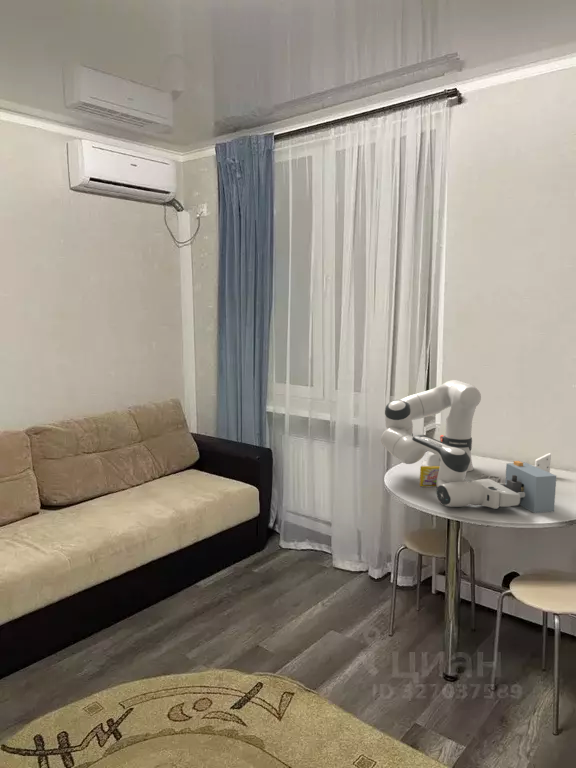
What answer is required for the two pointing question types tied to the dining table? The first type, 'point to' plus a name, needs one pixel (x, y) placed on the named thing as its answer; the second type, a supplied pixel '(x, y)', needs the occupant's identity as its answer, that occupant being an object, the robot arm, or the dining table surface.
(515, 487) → the plug
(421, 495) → the dining table surface
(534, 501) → the socket
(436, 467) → the candy box
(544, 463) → the white wedge bracket
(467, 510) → the dining table surface
